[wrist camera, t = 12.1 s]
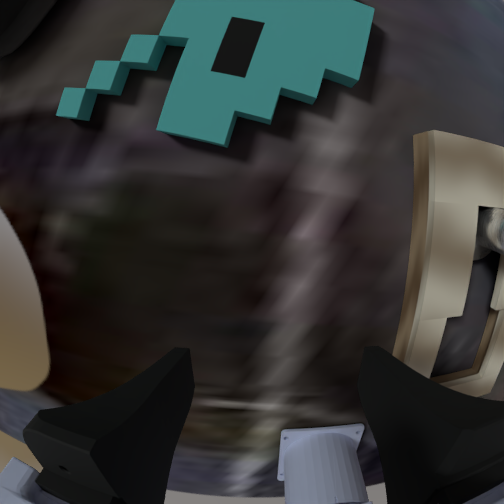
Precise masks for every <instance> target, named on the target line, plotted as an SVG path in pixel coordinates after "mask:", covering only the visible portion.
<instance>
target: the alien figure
mask: <svg viewBox="0 0 504 504" xmlns="http://www.w3.org/2000/svg"><path fill="white" fill-rule="evenodd" d="M373 14H374V8H372V7H369V6H367V5H364V4H362V3H359V2H356V1H354V0H176V1H175V3H174V5H173V7H172V9H171V11H170V13H169V15H168V17H167V19H166V21H165V23H164V25H163V27H162V30H161V32H160V34H159V36H158V35H131V37H130V39H129V41H128V44H127V46H126V48H125V51H124V53H123V56H122V58H121V61H96V62H95V64H94V67H93V70H92V72H91V75H90V78H89V80H88V83H87V86H86V88H64V91H63V94H62V97H61V101H60V104H59V107H58V111H57V114H56V116H60V117H65V118H69V119H78V120H86V121H89V120H90V116H91V113H92V110H93V106H94V103H95V100H96V97H97V94H109V95H119V96H121V94H122V91H123V88H124V85H125V82H126V79H127V77H128V74H129V71H130V69H141V70H152V71H157V68H158V65H159V63H160V60H161V58H162V55H163V53H164V50H165V48H166V45H171V46H181V47H185V49H184V51H183V54H182V56H181V59H180V61H179V64H178V67H177V69H176V72H175V75H174V77H173V80H172V83H171V86H170V89H169V92H168V95H167V98H166V101H165V104H164V107H163V110H162V113H161V116H160V119H159V123H158V126H157V129H156V130H158V131H161V132H163V133H165V134H170V135H175V136H180V137H184V138H189V139H193V140H198V141H202V142H206V143H210V144H214V145H219V146H223V147H226V148H228V145H229V142H230V139H231V135H232V132H233V129H234V126H235V122H236V119H237V116H238V117H242V118H246V119H250V120H254V121H258V122H261V123H265V124H269V125H271V122H272V119H273V115H274V112H275V109H276V106H277V102H278V99H279V96H280V95H282V96H285V97H289V98H292V99H295V100H299V101H302V102H305V103H308V104H311V105H313V103H314V102H315V100H316V98H317V95H318V92H319V88H320V85H321V81H322V78H325V79H328V80H331V81H334V82H337V83H339V84H342V85H345V86H347V87H350V88H352V87H353V86H354V85H355V84H356V83H357V82H358V81H359V77H360V73H361V69H362V65H363V60H364V56H365V52H366V47H367V43H368V38H369V33H370V29H371V24H372V19H373Z"/></svg>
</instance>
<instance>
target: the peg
mask: <svg viewBox="0 0 504 504" xmlns="http://www.w3.org/2000/svg"><path fill="white" fill-rule="evenodd" d="M492 250H493V251H495V252H498V253H500V254H503V255H504V210H503V209H500V208H495V207H487V206H478V220H477V231H476V241H475V249H474V256H473V260H479V259H482V258H484V257H485V256H487V255H488V254H489V253H490V252H491V251H492Z"/></svg>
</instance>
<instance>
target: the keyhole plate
mask: <svg viewBox="0 0 504 504" xmlns="http://www.w3.org/2000/svg"><path fill="white" fill-rule="evenodd" d="M413 147H414V199H413V220H412V234H411V245H410V255H409V264H408V272H407V280H406V287H405V293H404V300H403V306H402V311H401V317H400V322H399V327H398V332H397V337H396V341H395V346H394V350H393V354H392V355H393V356H394V357H396V358H397V359H399V360H400V361H401V362H403V363H404V364H406V365H407V366H409V367H410V368H412V369H413V370H415V371H417V372H418V373H420V374H422V375H423V376H425V377H427V378H429V379H430V380H432V381H434V382H436V383H438V384H441V385H443V386H445V387H447V388H450V389H452V390H455V391H458V392H461V393H464V394H467V395H470V396H474V397H479V396H482V395H484V394H487V393H490V392H491V389H492V387H493V385H494V383H495V381H496V378H497V376H498V374H499V371H500V369H501V367H502V364H503V362H504V255H503V254H501V255H500V261H499V267H498V273H497V278H496V283H495V288H494V293H493V297H492V301H491V305H490V307H491V308H490V312H489V316H488V320H487V323H486V327H485V330H484V333H483V337H482V340H481V343H480V346H479V349H478V352H477V355H476V357H475V360H474V363H473V366H472V368H470V369H466V370H462V371H458V372H454V373H450V374H446V375H441V376H436V377H432V378H430V375H431V372H432V369H433V366H434V363H435V360H436V357H437V353H438V350H439V346H440V343H441V339H442V336H443V332H444V328H445V324H446V320H447V318H449V317H456V316H462V313H463V309H464V305H465V300H466V296H467V291H468V286H469V281H470V275H471V269H472V263H473V256H474V249H475V241H476V231H477V220H478V206H487V207H495V208H503V209H504V147H501V146H498V145H494V144H491V143H487V142H484V141H480V140H476V139H472V138H468V137H464V136H460V135H456V134H451V133H446V132H442V131H437V130H432V131H428V132H424V133H420V134H416V135H413Z"/></svg>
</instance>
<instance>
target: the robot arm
mask: <svg viewBox="0 0 504 504" xmlns="http://www.w3.org/2000/svg"><path fill="white" fill-rule="evenodd" d="M357 387H358V392H359V396H360V401H361V404H362V407H363V410H364V412H365V415H366V418H367V420H368V423H369V425H370V428H371V430H372V433H373V436H374V438H375V441H376V444H377V447H378V450H379V455H380V459H381V464H382V469H383V474H384V480H385V487H386V495H387V504H504V401H495V400H488V399H483V398H478V397H474V396H470V395H467V394H464V393H461V392H458V391H455V390H452V389H450V388H447V387H445V386H443V385H441V384H438V383H436V382H434V381H432V380H430V379H429V378H427V377H425V376H423V375H422V374H420V373H418V372H417V371H415V370H413V369H412V368H410V367H409V366H407V365H406V364H404V363H403V362H401V361H400V360H399V359H397V358H396V357H394V356H393V355H391V354H390V353H389V352H387V351H386V350H384V349H383V348H381V347H379V346H370V347H365V348H364V353H363V358H362V363H361V368H360V373H359V378H358V382H357ZM194 388H195V384H194V377H193V371H192V364H191V357H190V350H189V348H174V349H172V350H171V351H170V352H169V353H167V354H166V355H165V356H163V357H162V358H161V359H160V360H158V361H157V362H156V363H154V364H153V365H152V366H150V367H149V368H148V369H146V370H145V371H143V372H142V373H140V374H139V375H137V376H136V377H134V378H133V379H131V380H130V381H128V382H127V383H125V384H123V385H121V386H119V387H118V388H116V389H114V390H112V391H109V392H107V393H105V394H102V395H100V396H97V397H95V398H92V399H90V400H87V401H83V402H80V403H77V404H73V405H69V406H64V407H58V408H52V409H45V410H40V411H39V412H38V413H37V414H36V415H35V417H34V418H33V419H32V420H31V421H30V423H29V424H28V425H27V426H26V427H25V429H24V430H23V437H24V440H25V442H26V444H27V446H28V447H29V449H30V450H31V451H32V453H33V455H34V456H35V457H36V459H37V460H38V461H39V463H40V464H41V465H42V467H43V470H42V472H41V473H39V472H38V471H37V470H36V469H34V468H33V467H31V466H29V465H27V464H26V463H24V462H22V461H20V460H19V459H17V458H15V457H13V458H12V459H11V460H10V462H9V463H8V464H7V466H6V467H5V468H4V470H3V471H2V472H1V474H0V504H164V500H165V494H166V488H167V482H168V477H169V472H170V468H171V463H172V459H173V454H174V451H175V448H176V444H177V442H178V439H179V436H180V434H181V431H182V428H183V426H184V423H185V420H186V418H187V415H188V412H189V409H190V407H191V403H192V398H193V393H194ZM363 431H364V425H363V424H362V423H359V424H351V425H342V426H332V427H320V428H304V429H285V430H283V431H282V432H281V441H280V454H279V465H278V476H277V478H278V480H280V481H285V504H373V503H372V502H369V500H368V496H367V492H366V487H365V484H364V480H363V476H362V472H361V468H360V464H359V461H358V457H357V453H356V451H357V448H358V445H359V442H360V440H361V437H362V434H363Z"/></svg>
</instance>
